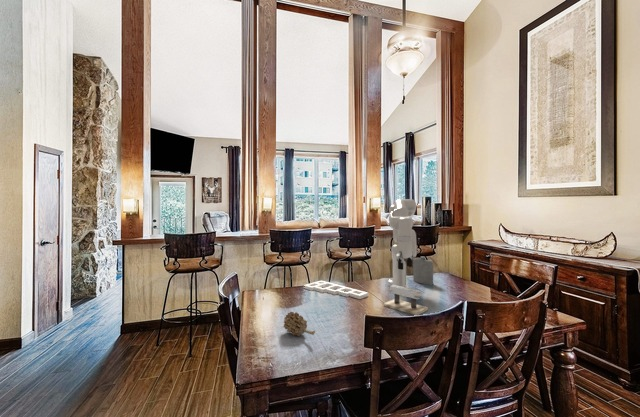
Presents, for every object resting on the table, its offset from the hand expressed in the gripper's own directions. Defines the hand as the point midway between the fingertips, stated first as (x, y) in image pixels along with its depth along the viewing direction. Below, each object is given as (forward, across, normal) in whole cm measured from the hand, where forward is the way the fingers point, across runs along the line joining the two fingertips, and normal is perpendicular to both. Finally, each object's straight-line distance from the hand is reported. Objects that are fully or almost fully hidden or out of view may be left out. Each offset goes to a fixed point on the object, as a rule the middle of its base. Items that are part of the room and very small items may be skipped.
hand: (405, 267), depth 179 cm
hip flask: (+24, -58, -19) cm, 65 cm away
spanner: (+16, 0, 0) cm, 16 cm away
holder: (+25, +6, -51) cm, 57 cm away
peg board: (+24, 0, 0) cm, 24 cm away
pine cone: (+24, +68, -15) cm, 74 cm away
